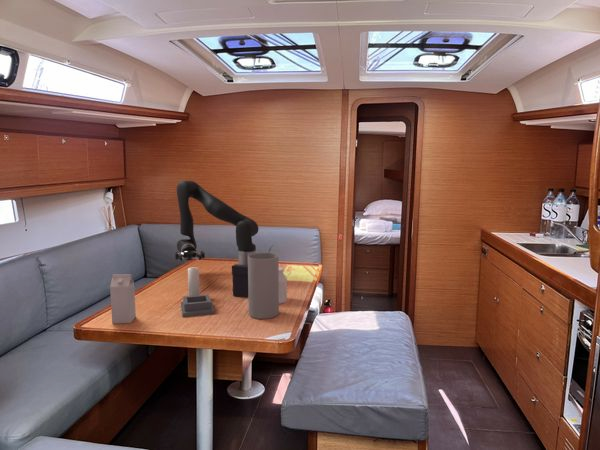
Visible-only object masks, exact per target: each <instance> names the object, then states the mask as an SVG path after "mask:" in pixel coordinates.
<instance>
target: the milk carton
mask: <svg viewBox="0 0 600 450" xmlns="http://www.w3.org/2000/svg"><path fill="white" fill-rule="evenodd" d="M111 275H112V278H111V282H110V286H109V290H110V291H109V293H110V305H111V306H110V308H111V322H112V323H111V324H131V323H132V322H133V321H134V320H135V319H136V317H137V316H136V296H135V295H136V292H135V281H134V279H133V277H132V273H129V274H127V273H124V274H111Z"/></svg>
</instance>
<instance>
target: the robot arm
mask: <svg viewBox="0 0 600 450" xmlns="http://www.w3.org/2000/svg"><path fill="white" fill-rule="evenodd" d="M176 195H177V203H178V208H179V218H180V221H179V222H180V224H179V226H180V229H179V230H180V235H182V236H186V237H188V239H187V238H185V239H184V238H183V239H179V240H178V241H177V243H176V249H177V251H176V252H175V255H174V257H175V260H179V261H181V262H183V260H185V261H192V260H195V259H196V260H197V259H198V260H199V261H201V260H202V259H206V258H205V255H206V253H205V252H204V251H203V250H201V251H200V252H198V250H197V242H196V239H195V235H194V234H195V233H194V232H195V231H194V218H193V214H192V212H191V209H190V204H189V203H190V201H189V200H190V199H189V198H192V199H193V200H196V201H198V202H199V203H201V205H202V206H203V208H204V209H205V210H206V212H208V214H210V215H211V216H212V217H214V218H216V219H218V220H220V221H223V222H225V223H226V222H227V223H229V224H232V225H233V226H235V240H236V242H235V243H236V247H237V254H238V255H237V258H238V259H237V261H238V262H237V263H238V264H239V265H248V255H250V254H254V253H257V252H256V250H257V248H256V247H257V246H256V244H255V243H253V239H252V238H253V237H255V236H256V235H257V234H258V233H259V225H258V223H257V221H255V220H254V219H252V218H250V217H248V216H246V215H244V214H242V213H240V211H237V210H236V209H234V207H232V206H230V205H229V204H227V203H226V202H224V201H223V200H221V199H219V198H218V197H216V196H215V195H213V194H211V193H209V191H207V190H205V189H204V188H203V187H202V186H200V185H199V184H198V183H197V182H196V181H194V180H182V181H180V182H178V183H177V186H176Z"/></svg>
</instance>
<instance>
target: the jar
mask: <svg viewBox="0 0 600 450" xmlns="http://www.w3.org/2000/svg"><path fill="white" fill-rule="evenodd" d="M287 284H288V278H287V277H286V275H285V273H284V267H281V266H279V305H280V304H284V303H286V302H287V301H288V290H287V289H288V287H287V286H288V285H287Z"/></svg>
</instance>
